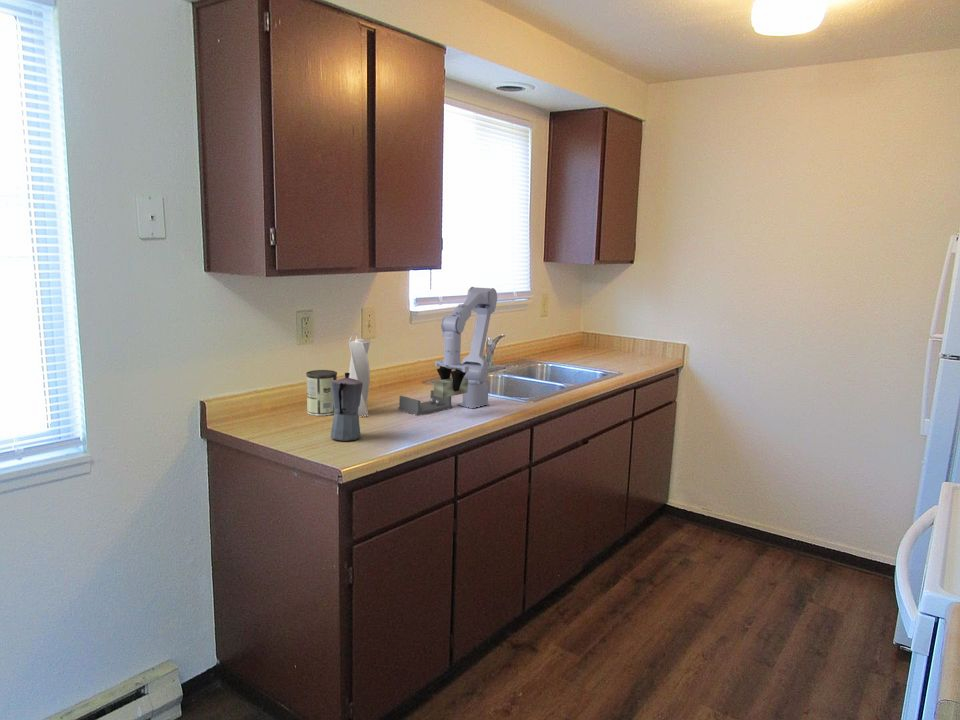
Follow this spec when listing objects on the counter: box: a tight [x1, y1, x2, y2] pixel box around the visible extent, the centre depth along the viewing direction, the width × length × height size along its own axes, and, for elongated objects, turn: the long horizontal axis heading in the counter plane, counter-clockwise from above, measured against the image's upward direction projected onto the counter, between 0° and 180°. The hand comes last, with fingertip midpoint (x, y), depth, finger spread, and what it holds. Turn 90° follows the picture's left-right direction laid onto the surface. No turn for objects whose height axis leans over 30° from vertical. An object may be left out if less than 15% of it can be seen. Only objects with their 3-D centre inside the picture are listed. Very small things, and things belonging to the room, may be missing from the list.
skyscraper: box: [348, 333, 371, 418], centre depth 227 cm, size 8×8×28 cm
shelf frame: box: [397, 389, 453, 416], centre depth 240 cm, size 17×10×5 cm, turn 137°
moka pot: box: [329, 372, 363, 442], centre depth 199 cm, size 10×15×20 cm, turn 2°
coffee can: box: [305, 369, 338, 417], centre depth 229 cm, size 10×10×14 cm
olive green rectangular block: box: [433, 377, 468, 398], centre depth 230 cm, size 12×4×5 cm, turn 137°
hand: (451, 389), depth 230 cm, fingers closed on olive green rectangular block, 4 cm apart
